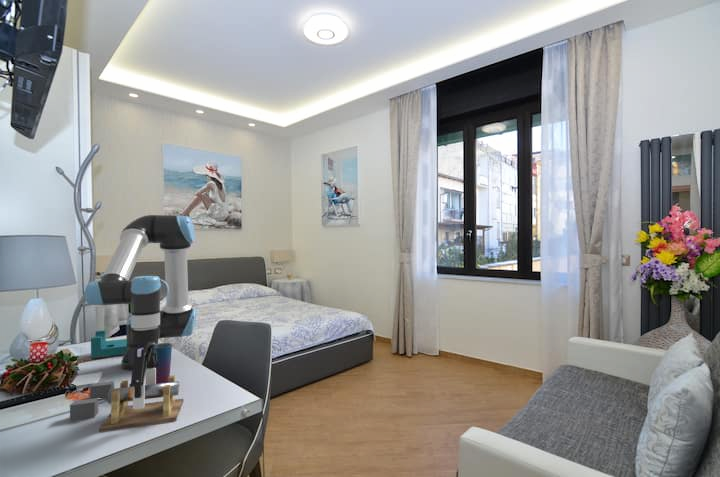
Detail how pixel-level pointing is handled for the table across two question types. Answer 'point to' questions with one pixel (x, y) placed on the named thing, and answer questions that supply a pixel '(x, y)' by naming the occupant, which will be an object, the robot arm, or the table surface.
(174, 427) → the table surface
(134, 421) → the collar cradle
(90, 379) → the hard drive
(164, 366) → the cup
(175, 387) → the brushed aluminium bar
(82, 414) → the grey blocks
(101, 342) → the teal l-shaped bracket
